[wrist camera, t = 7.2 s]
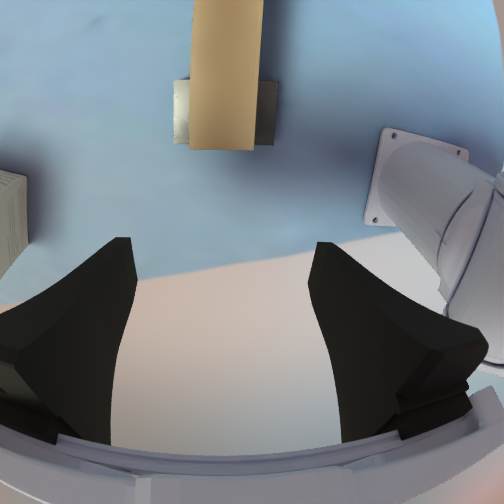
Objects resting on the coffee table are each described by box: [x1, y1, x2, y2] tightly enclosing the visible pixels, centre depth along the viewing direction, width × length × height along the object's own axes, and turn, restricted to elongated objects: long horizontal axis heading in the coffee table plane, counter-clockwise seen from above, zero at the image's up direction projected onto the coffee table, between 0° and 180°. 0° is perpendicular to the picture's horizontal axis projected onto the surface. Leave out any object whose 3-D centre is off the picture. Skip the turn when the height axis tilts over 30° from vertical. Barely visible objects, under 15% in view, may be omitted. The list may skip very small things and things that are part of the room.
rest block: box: [174, 80, 279, 145], centre depth 16 cm, size 6×4×2 cm, turn 87°
